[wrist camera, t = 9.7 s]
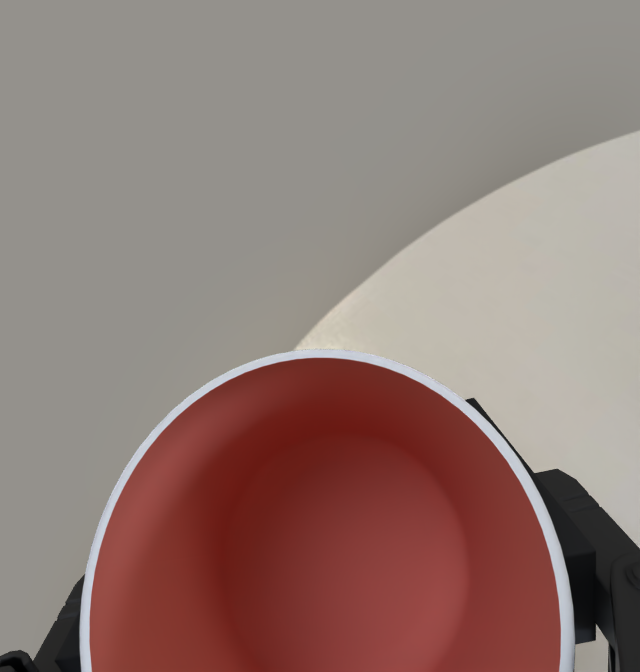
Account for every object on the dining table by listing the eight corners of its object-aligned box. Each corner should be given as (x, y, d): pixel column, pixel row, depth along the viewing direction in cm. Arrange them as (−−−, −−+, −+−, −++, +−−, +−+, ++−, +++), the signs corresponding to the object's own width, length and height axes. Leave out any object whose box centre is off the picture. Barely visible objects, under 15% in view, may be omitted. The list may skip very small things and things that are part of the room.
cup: (215, 698, 16) (14, 908, 7) (236, 432, 20) (125, 354, 11) (489, 711, 15) (654, 976, 6) (454, 427, 19) (522, 336, 10)
